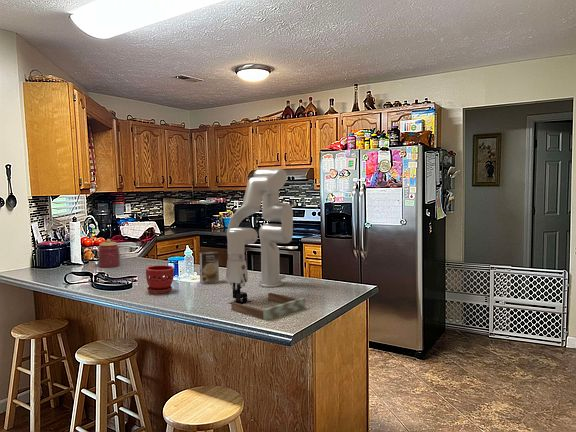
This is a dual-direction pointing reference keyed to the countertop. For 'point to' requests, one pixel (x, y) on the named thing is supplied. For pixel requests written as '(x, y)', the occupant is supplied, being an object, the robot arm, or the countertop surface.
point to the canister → (108, 254)
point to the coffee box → (209, 267)
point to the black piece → (244, 298)
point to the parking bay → (274, 311)
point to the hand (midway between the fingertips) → (236, 297)
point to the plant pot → (159, 278)
